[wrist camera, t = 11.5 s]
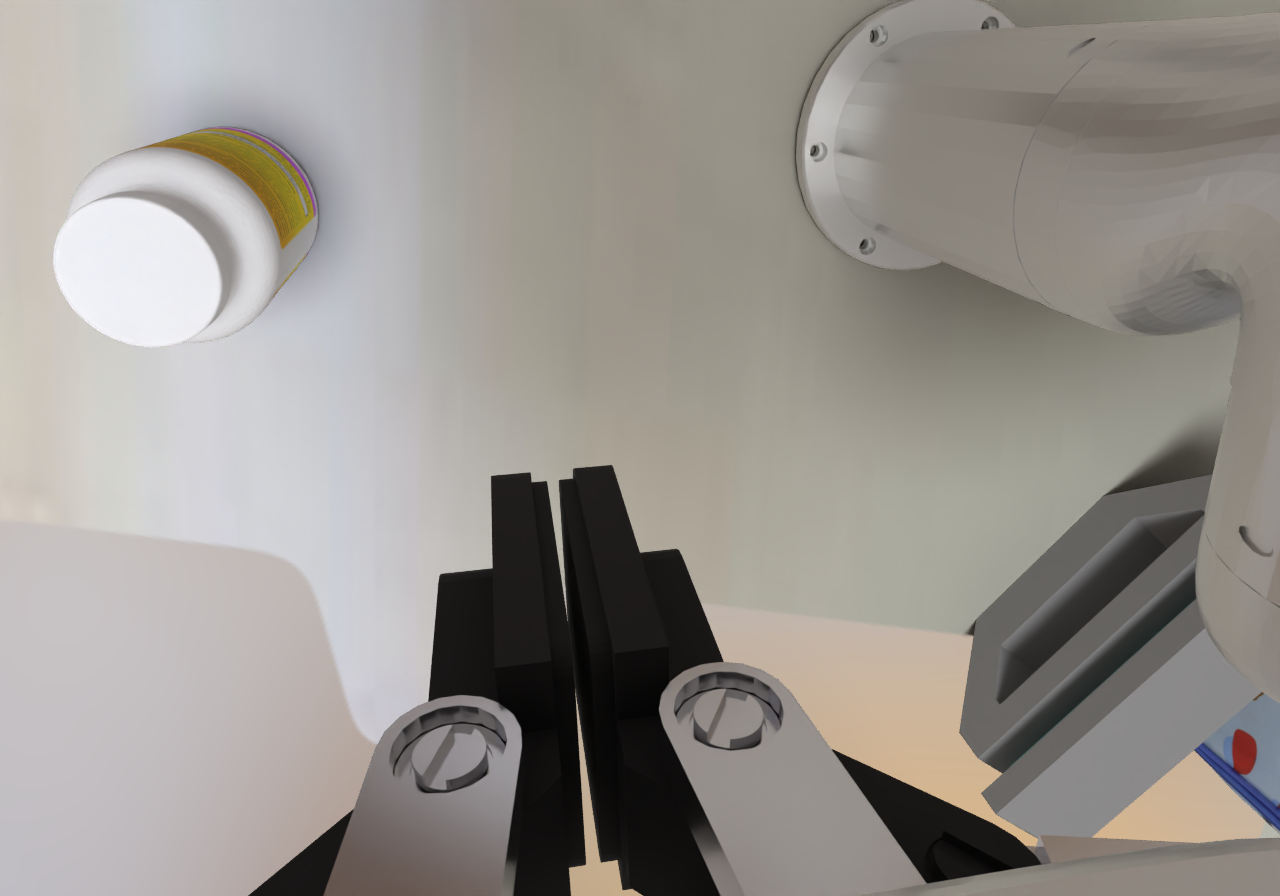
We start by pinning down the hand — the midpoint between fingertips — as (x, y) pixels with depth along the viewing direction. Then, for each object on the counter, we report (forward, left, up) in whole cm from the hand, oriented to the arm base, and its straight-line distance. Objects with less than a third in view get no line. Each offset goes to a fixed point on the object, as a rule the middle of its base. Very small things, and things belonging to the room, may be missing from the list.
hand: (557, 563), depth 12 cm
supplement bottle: (+11, -1, -31) cm, 32 cm away
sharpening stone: (-35, +29, -31) cm, 55 cm away
